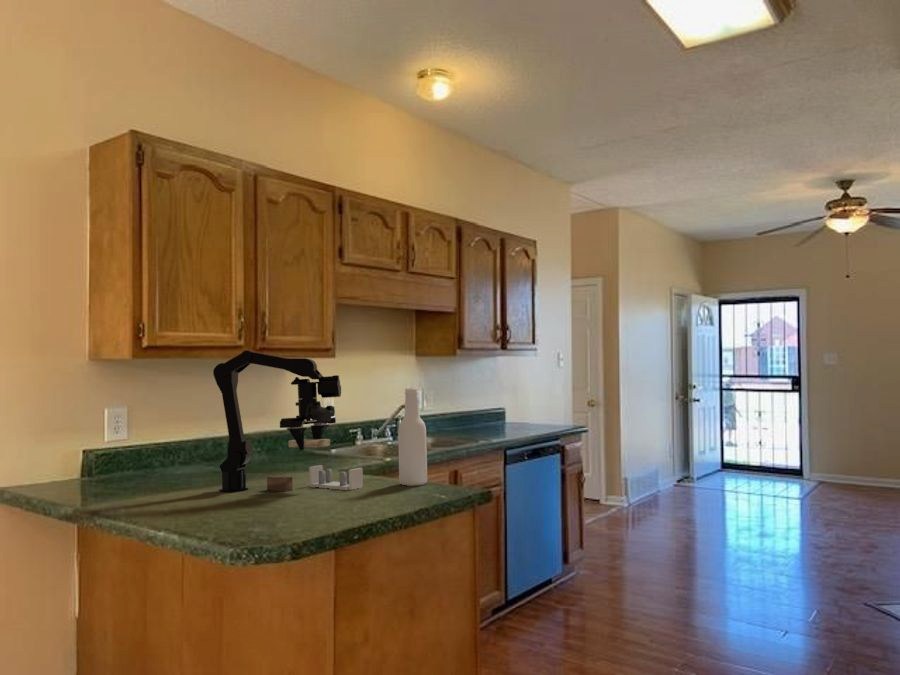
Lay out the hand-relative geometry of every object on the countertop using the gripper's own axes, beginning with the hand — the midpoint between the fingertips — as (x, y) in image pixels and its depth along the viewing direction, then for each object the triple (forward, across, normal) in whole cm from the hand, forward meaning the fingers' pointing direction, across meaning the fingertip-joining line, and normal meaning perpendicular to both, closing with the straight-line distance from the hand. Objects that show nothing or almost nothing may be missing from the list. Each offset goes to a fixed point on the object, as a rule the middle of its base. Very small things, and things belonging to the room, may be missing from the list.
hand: (309, 449), depth 214 cm
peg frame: (+12, +6, -5) cm, 14 cm away
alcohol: (+13, +21, -24) cm, 34 cm away
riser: (+12, -6, +7) cm, 15 cm away
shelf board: (-1, 0, 0) cm, 1 cm away
